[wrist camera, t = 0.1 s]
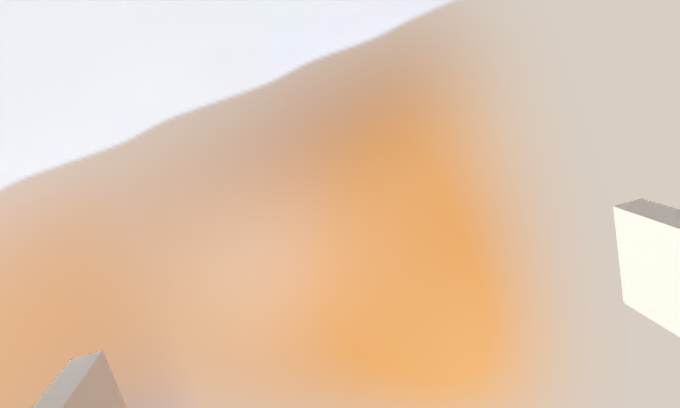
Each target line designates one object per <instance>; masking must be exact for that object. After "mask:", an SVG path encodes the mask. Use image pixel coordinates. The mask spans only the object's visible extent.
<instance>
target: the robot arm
mask: <svg viewBox="0 0 680 408" xmlns="http://www.w3.org/2000/svg"><path fill="white" fill-rule="evenodd" d="M614 217H615V226H616V236H617V245H618V254H619V264H620V272H621V282H622V292H623V301H624V303H625V304H627V305H628V306H630V307H631V308H633V309H635V310H636V311H638V312H640V313H641V314H643V315H645V316H646V317H648V318H649V319H651V320H653V321H654V322H656V323H658V324H659V325H661V326H662V327H664V328H666V329H667V330H669V331H671V332H672V333H674V334H675V335H677V336H679V337H680V210H679V209H675V208H672V207H668V206H665V205H661V204H658V203H655V202H651V201H647V200H644V199H638V200H635V201H631V202H628V203H624V204H621V205H617V206H614ZM32 408H127V407H126V405H125V402H124V400H123V397H122V395H121V393H120V390H119V388H118V385H117V383H116V381H115V378H114V376H113V374H112V371H111V369H110V367H109V364H108V362H107V360H106V357H105V355H104V352H103V350H101V351H97V352H94V353H90V354H87V355H83V356H80V357H76V358H72V359H70V361H69V362H68V363H67V364H66V366H65V367H64V368H63V369H62V371H61V372H60V373H59V374H58V375H57V377H56V378H55V379H54V380H53V382H52V383H51V384H50V386H49V387H48V388H47V389H46V391H45V392H44V393H43V394H42V395H41V397H40V398H39V399H38V400H37V402H36V403H35V404H34V405H33V407H32Z"/></svg>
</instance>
